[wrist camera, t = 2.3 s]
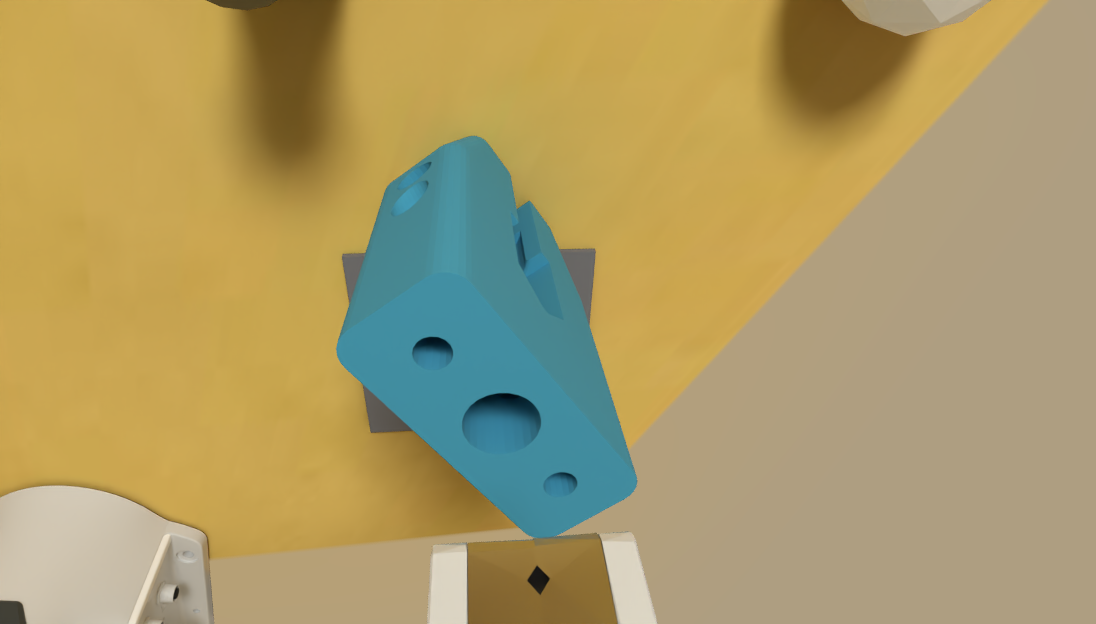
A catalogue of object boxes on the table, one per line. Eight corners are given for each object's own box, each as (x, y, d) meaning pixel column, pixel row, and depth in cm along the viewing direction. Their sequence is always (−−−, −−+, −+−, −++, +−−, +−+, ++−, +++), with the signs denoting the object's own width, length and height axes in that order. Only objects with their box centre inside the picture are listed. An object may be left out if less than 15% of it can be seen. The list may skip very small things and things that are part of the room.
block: (389, 154, 37) (322, 347, 20) (458, 103, 36) (451, 260, 19) (509, 299, 43) (538, 545, 25) (572, 258, 42) (646, 487, 24)
